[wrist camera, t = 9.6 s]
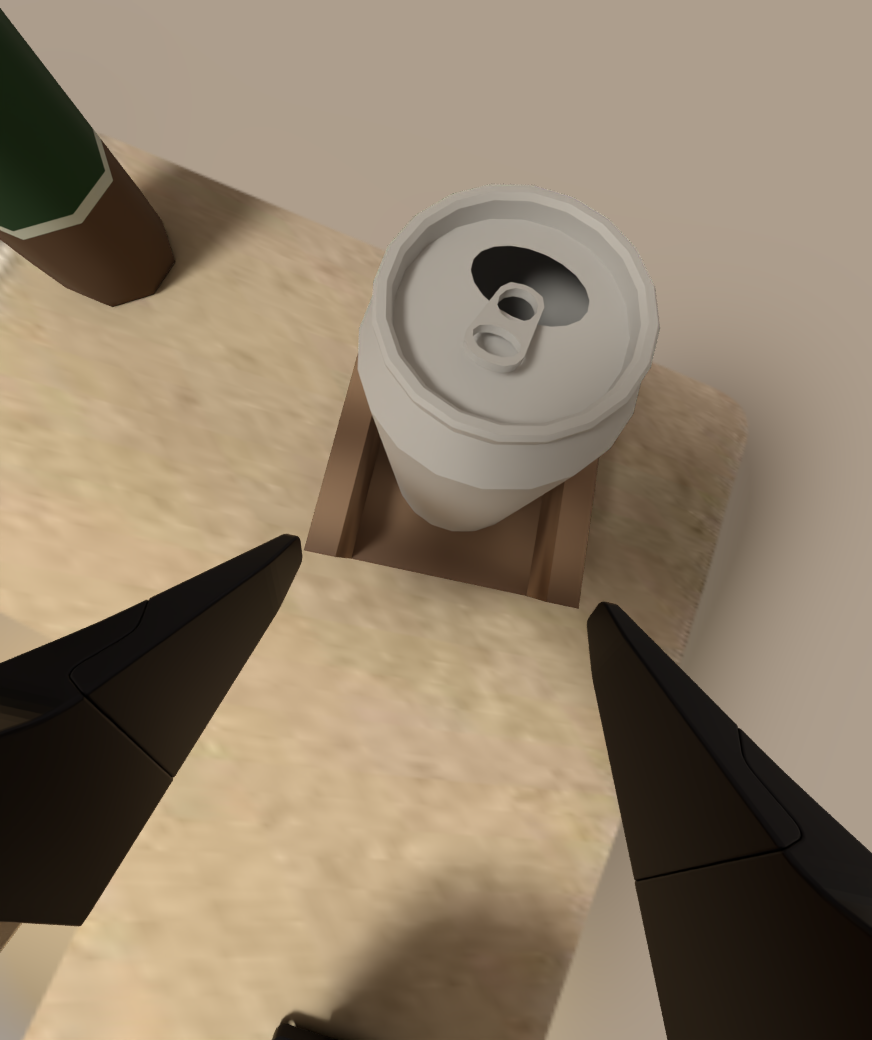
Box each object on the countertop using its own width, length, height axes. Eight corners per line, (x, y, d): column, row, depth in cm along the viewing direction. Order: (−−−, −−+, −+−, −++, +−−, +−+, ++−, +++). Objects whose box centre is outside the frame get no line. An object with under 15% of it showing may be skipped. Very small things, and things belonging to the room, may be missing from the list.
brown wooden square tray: (546, 599, 18) (578, 608, 14) (330, 553, 18) (303, 550, 14) (576, 398, 20) (612, 358, 16) (381, 358, 20) (370, 308, 16)
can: (544, 444, 19) (747, 232, 7) (490, 556, 18) (620, 537, 6) (432, 390, 19) (440, 97, 7) (373, 497, 18) (266, 363, 6)
